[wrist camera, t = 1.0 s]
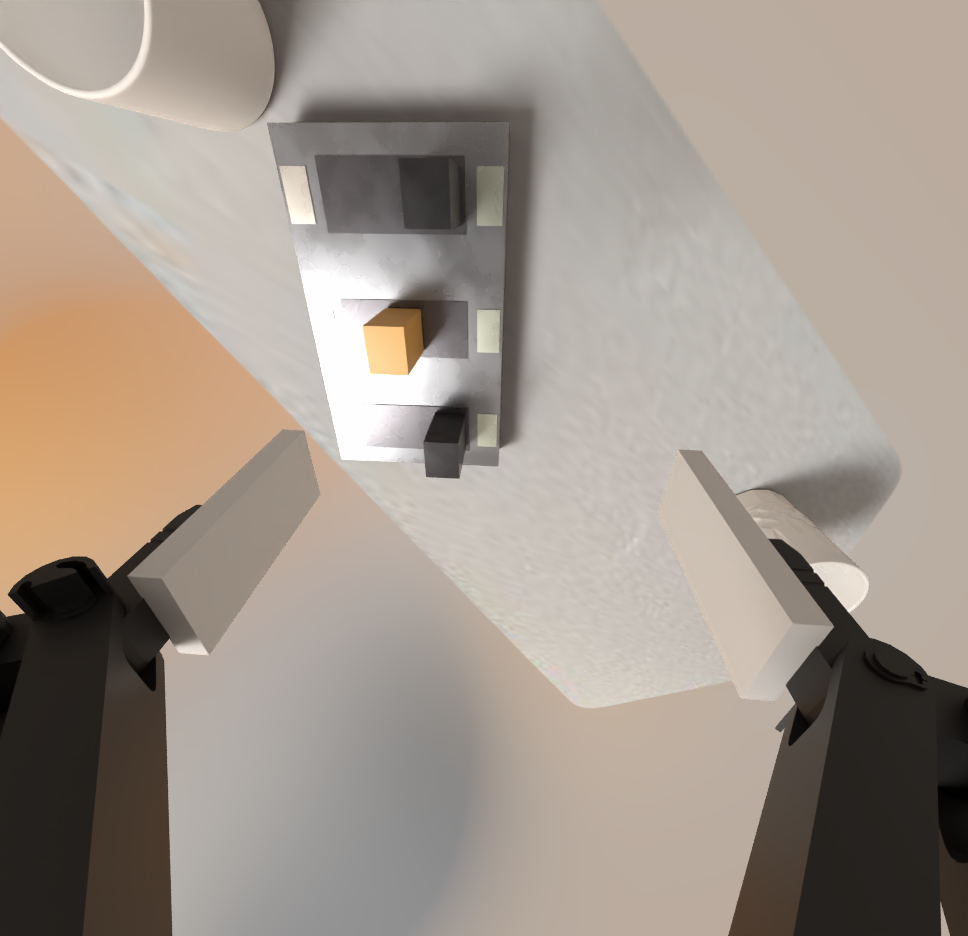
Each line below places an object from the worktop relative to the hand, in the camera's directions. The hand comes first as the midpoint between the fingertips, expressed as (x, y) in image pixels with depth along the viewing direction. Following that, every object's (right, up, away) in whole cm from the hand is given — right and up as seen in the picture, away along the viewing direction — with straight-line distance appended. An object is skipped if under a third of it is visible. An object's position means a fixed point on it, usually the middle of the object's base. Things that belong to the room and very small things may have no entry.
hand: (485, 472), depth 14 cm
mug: (-17, +27, +9) cm, 33 cm away
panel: (-6, +12, +18) cm, 22 cm away
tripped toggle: (-6, +10, +15) cm, 19 cm away
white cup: (+26, -4, +26) cm, 37 cm away
